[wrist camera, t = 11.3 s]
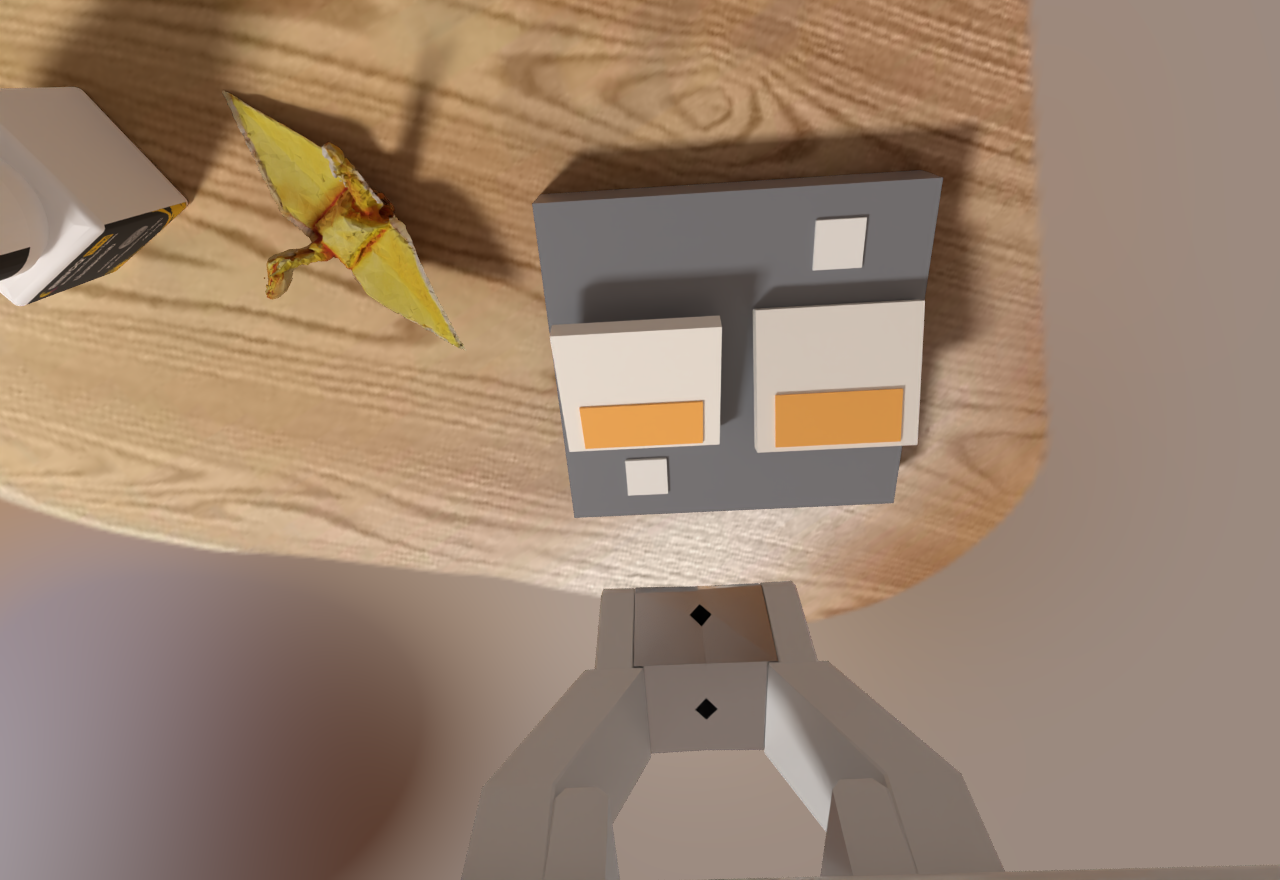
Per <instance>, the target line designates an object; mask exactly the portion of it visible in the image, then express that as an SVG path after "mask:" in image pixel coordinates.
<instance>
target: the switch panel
mask: <svg viewBox="0 0 1280 880" xmlns="http://www.w3.org/2000/svg"><path fill="white" fill-rule="evenodd" d="M942 182H943V177H940V176H937V175H934V174H932V173H929V172H926V171H923V170H913V171H897V172H881V173H866V174H850V175H835V176H819V177H803V178H788V179H772V180H757V181H741V182H725V183H710V184H694V185H679V186H663V187H647V188H632V189H616V190H601V191H585V192H569V193H554V194H540V195H539V196H538V198H537V199H536V200H535V201H534V202H533V203H532V206H533V213H534V221H535V228H536V235H537V243H538V250H539V258H540V265H541V272H542V280H543V287H544V295H545V302H546V310H547V317H548V324H549V332H551V327H552V325H561V324H579V323H596V322H614V321H631V320H649V319H667V318H684V317H702V316H719V315H720V320H721V325H722V348H721V397H720V444H719V445H699V446H679V447H659V448H638V449H618V450H598V451H578V452H569V446H568V440H567V434H566V429H565V423H564V417H563V411H562V405H561V400H560V394H559V388H558V382H557V376H556V370H555V376H556V384H557V391H558V399H559V406H560V414H561V421H562V428H563V436H564V443H565V451H566V458H567V465H568V473H569V480H570V488H571V495H572V503H573V510H574V517H575V518H580V517H602V516H624V515H645V514H667V513H689V512H710V511H732V510H754V509H775V508H797V507H818V506H840V505H862V504H883V503H894V497H895V490H896V483H897V477H898V470H899V464H900V457H901V451H902V446H885V447H865V448H844V449H824V450H804V451H784V452H763V453H757V451H756V449H755V443H754V370H753V309H760V308H777V307H795V306H812V305H830V304H847V303H865V302H882V301H900V300H923V301H924V300H925V293H926V287H927V280H928V273H929V267H930V260H931V254H932V247H933V241H934V234H935V228H936V221H937V214H938V208H939V201H940V195H941V188H942ZM552 354H553V353H552ZM553 362H554V359H553ZM554 369H555V365H554Z"/></svg>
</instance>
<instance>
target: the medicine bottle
mask: <svg viewBox="0 0 1280 880" xmlns="http://www.w3.org/2000/svg"><path fill="white" fill-rule="evenodd" d="M187 205H188V202H187V200H186V198H185V197H184V196H183V195H182V194H181V193H180V192H179V191H178V190H177V189H176V188H175V187H174V186H173V185H172V184H171V182H170V181H169V180H168V179H167V178H166V177H165V176H164V175H163V174H162V173H161V172H160V171H159V170H158V169H157V168H156V167H155V166H154V165H153V164H152V163H151V161H150V160H149V159H148V158H147V157H146V156H145V155H144V154H143V153H142V152H141V151H140V150H139V149H138V148H137V147H136V146H135V145H134V144H133V143H132V142H131V141H130V139H129V138H128V137H127V136H126V135H125V134H124V133H123V132H122V131H121V130H120V129H119V128H118V127H117V126H116V125H115V124H114V123H113V122H112V121H111V120H110V118H109V117H108V116H107V115H106V114H105V113H104V112H103V111H102V110H101V109H100V108H99V107H98V106H97V105H96V104H95V103H94V102H93V101H92V100H91V99H90V98H89V96H88V95H87V94H86V93H85V92H84V91H83V90H81V89H80V88H77V87H44V88H4V89H0V292H1V293H2V294H3V295H4V296H5V297H6V298H7V299H9V300H10V301H11V302H12V303H13V304H15V305H17V306H24V305H27V304H30V303H32V302H35V301H38V300H40V299H43V298H46V297H48V296H51V295H54V294H56V293H59V292H62V291H64V290H67V289H70V288H72V287H75V286H78V285H80V284H83V283H86V282H88V281H91V280H94V279H96V278H99V277H102V276H104V275H107V274H110V273H112V272H115V271H116V270H118V269H119V268H120V267H121V266H122V265H123V264H124V263H125V262H126V261H128V260H129V259H130V258H131V257H132V256H133V255H134V254H135V253H136V252H137V251H139V250H140V249H141V248H142V247H143V246H144V245H145V244H146V243H147V242H148V241H150V240H151V239H152V238H153V237H154V236H155V235H156V234H157V233H158V232H159V231H161V230H162V229H163V228H164V227H165V226H166V225H167V224H168V223H169V222H170V221H172V220H173V219H174V218H175V217H176V216H177V215H178V214H179V213H180V212H181V211H183V210H184V209H185V208H186V207H187Z"/></svg>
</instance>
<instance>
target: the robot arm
mask: <svg viewBox="0 0 1280 880" xmlns="http://www.w3.org/2000/svg"><path fill="white" fill-rule="evenodd" d="M699 750H764V753H765V754H766V755H767V757H768V758H769V759H770V761H771V762H772V763H773V764H774V766H775V767H776V768H777V770H778V771H779V772H780V773H781V774H782V776H783V777H784V779H786V781H787V782H788V784H789V785H790V786H791V787H792V789H793V790H794V791H795V793H796V794H797V795H798V797H799V798H800V799H801V800H802V802H803V803H804V804H805V805H806V807H807V808H808V809H809V811H810V812H811V813H812V814H813V816H814V817H815V818H816V819H817V821H818V822H819V823H820V825H821V826H822V827H823V829H824V830H825V831H826V839H825V846H824V854H823V861H822V868H821V876H820V877H788V878H750V879H715V880H1280V865H1248V866H1246V865H1245V866H1208V867H1168V868H1131V869H1130V868H1129V869H1090V870H1051V871H1014V872H1013V871H1012V872H1005V870H1004V868H1003V866H1002V864H1001V861H1000V859H999V857H998V855H997V852H996V850H995V848H994V846H993V843H992V841H991V839H990V837H989V834H988V832H987V830H986V828H985V826H984V824H983V821H982V819H981V817H980V815H979V812H978V810H977V808H976V806H975V803H974V801H973V799H972V797H971V794H970V792H969V790H968V788H967V785H966V783H965V781H964V779H963V776H962V774H961V773H960V772H959V771H957V770H956V769H955V768H954V767H953V766H952V765H951V764H949V763H948V762H947V761H946V760H945V759H943V758H942V757H941V756H940V755H939V754H938V753H936V752H935V751H934V750H933V749H932V748H930V747H929V746H928V745H927V744H926V743H924V742H923V741H922V740H921V739H920V738H918V737H917V736H916V735H915V734H914V733H913V732H911V731H910V730H909V729H908V728H907V727H905V726H904V725H903V724H902V723H901V722H900V721H898V720H897V719H896V718H895V717H894V716H893V715H891V714H890V713H889V712H888V711H886V710H885V709H884V708H883V707H882V706H881V705H880V704H878V703H877V702H876V701H875V700H874V699H872V698H871V697H870V696H869V695H868V694H867V693H865V692H864V691H863V690H862V689H860V688H859V687H858V686H857V685H856V684H855V683H853V682H852V681H851V680H850V679H849V678H848V677H846V676H845V675H844V674H843V673H842V672H841V671H839V670H838V669H837V668H836V667H835V666H833V665H832V664H831V663H830V662H829V661H818V659H817V656H816V653H815V649H814V646H813V642H812V639H811V636H810V632H809V629H808V626H807V622H806V619H805V615H804V612H803V609H802V605H801V602H800V599H799V595H798V592H797V588H796V585H795V584H794V583H793V582H792V581H782V582H765V583H760V584H759V583H755V584H735V585H715V586H696V587H643V588H635V589H634V588H625V589H603V592H602V595H601V603H600V614H599V625H598V637H597V649H596V660H595V669H594V670H585V671H584V672H583V673H582V674H581V675H580V677H579V678H578V679H577V680H576V681H575V682H574V683H573V684H572V686H571V687H570V688H569V689H568V690H567V691H566V692H565V694H564V695H563V696H562V697H561V698H560V699H559V701H558V702H557V703H556V704H555V705H554V706H553V707H552V708H551V710H550V711H549V712H548V713H547V714H546V715H545V717H544V718H543V719H542V720H541V721H540V722H539V723H538V724H537V726H536V727H535V728H534V729H533V730H532V731H531V732H530V734H529V735H528V736H527V737H526V738H525V739H524V740H523V742H522V743H521V744H520V745H519V746H518V747H517V748H516V750H515V751H514V752H513V753H512V754H511V755H510V756H509V757H508V759H507V760H506V761H505V762H504V763H503V764H502V766H501V767H500V768H499V769H498V770H497V771H496V772H495V773H494V775H493V776H492V777H491V778H490V779H489V780H488V781H487V783H486V784H485V785H484V786H483V788H482V791H481V795H480V800H479V805H478V808H477V813H476V817H475V821H474V826H473V830H472V834H471V838H470V843H469V847H468V851H467V855H466V860H465V864H464V868H463V873H462V877H461V880H620V876H619V869H618V862H617V854H616V848H615V840H614V832H613V825H612V824H613V823H614V821H615V819H616V817H617V816H618V814H619V812H620V810H621V809H622V807H623V805H624V803H625V802H626V800H627V798H628V796H629V795H630V792H631V791H632V789H633V788H634V786H635V784H636V782H637V781H638V779H639V777H640V775H641V774H642V772H643V770H644V769H645V767H646V765H647V763H648V762H649V760H650V758H651V753H667V752H682V751H699ZM711 880H713V879H711Z"/></svg>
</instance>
